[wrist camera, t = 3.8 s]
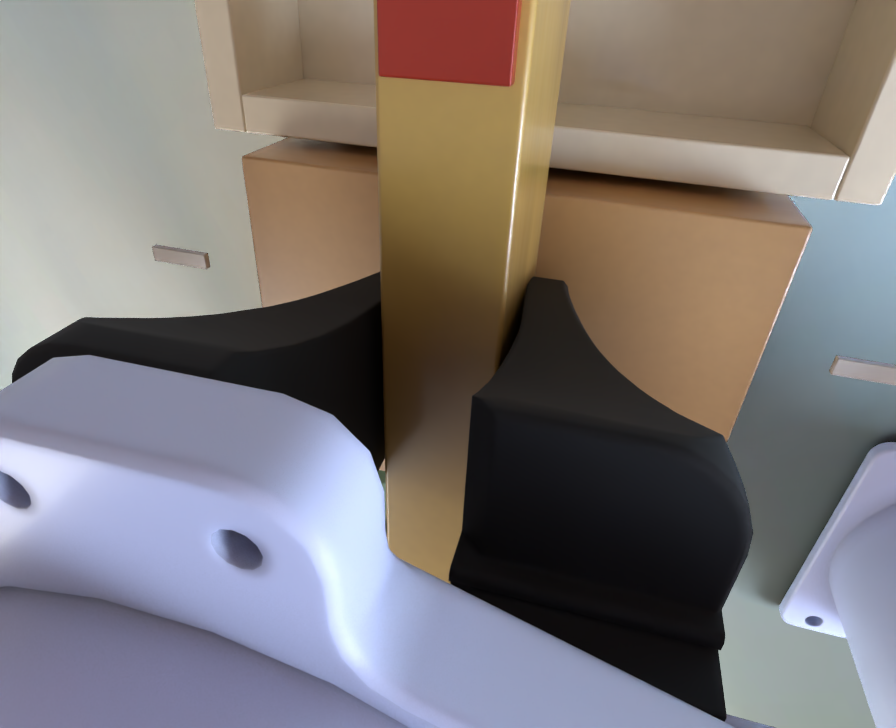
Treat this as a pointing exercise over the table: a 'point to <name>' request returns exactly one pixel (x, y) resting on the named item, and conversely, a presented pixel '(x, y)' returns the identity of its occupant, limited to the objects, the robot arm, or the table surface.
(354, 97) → the wooden tray
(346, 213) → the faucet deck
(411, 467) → the golden tan long bar
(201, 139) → the table surface
